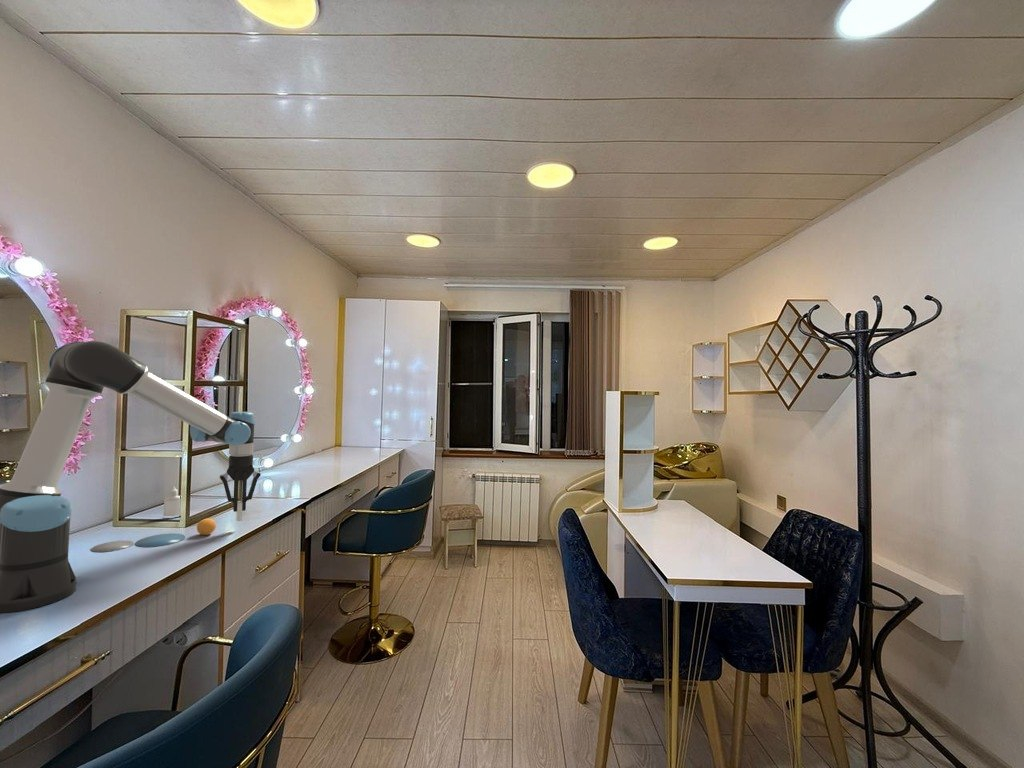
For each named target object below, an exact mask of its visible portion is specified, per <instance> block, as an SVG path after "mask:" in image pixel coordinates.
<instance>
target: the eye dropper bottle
mask: <svg viewBox="0 0 1024 768" xmlns="http://www.w3.org/2000/svg"><path fill="white" fill-rule="evenodd" d="M178 494H179V490H178V489H176V486H172V489H170V490H169V496H166V497H165V498H164V503H163V504H164V505H163V517H164V516H175V515H178V514H179V508H180V496H181V495H178Z"/></svg>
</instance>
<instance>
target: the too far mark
mask: <svg viewBox="0 0 1024 768" xmlns="http://www.w3.org/2000/svg"><path fill="white" fill-rule="evenodd" d="M131 545H132V546H133V545H134V541H132V540H113V541H108V542H103V543H99V544H97V545H94V546H93V547H91V548H90V549H91V550H92V551H91V552H93V551H94V553H109V551H110V552H115V551H114V550H116V551H119V550H120V549H121V550H124V549H127V548H129V546H130V547H131Z"/></svg>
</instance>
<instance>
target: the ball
mask: <svg viewBox="0 0 1024 768" xmlns="http://www.w3.org/2000/svg"><path fill="white" fill-rule="evenodd" d="M216 526H217V524H216V521H215V520H214V519H212V518H204V519H202V520H200V521H199V522H198V523H197V525H196V531H197V532H198V534H200V535H202V536H207V535H210V534H212V533H213V532H215V530H216V528H217V527H216Z"/></svg>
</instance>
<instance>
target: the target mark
mask: <svg viewBox="0 0 1024 768" xmlns="http://www.w3.org/2000/svg"><path fill="white" fill-rule="evenodd" d="M185 537H186V535H185V534H182V533H172V532H171V533H161V534H155V535H150V536H146V537H143V538H141V539H139V540H136V541H135V546H136V547H139V548H156V547H164V545H165V546H170V545H173V544H176V543H180V542H181V541H183V540H185Z"/></svg>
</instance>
